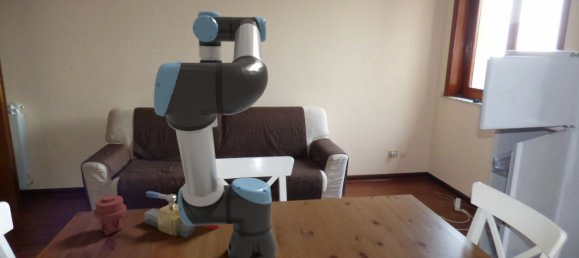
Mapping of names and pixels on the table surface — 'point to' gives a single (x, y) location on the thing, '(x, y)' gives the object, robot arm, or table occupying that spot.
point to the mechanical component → (110, 213)
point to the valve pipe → (168, 220)
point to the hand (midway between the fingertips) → (213, 126)
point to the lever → (161, 196)
